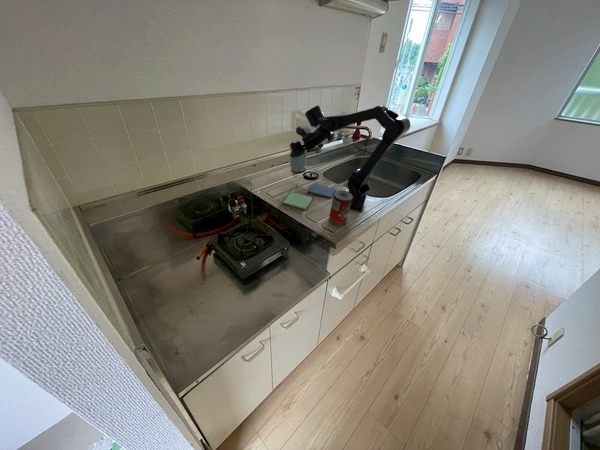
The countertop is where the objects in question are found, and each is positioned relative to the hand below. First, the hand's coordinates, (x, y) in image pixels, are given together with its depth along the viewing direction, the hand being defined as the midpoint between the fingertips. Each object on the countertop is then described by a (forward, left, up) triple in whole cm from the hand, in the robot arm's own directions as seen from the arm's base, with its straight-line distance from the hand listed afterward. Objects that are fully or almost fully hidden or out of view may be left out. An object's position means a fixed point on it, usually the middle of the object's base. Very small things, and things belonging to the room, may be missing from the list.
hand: (296, 154), depth 113 cm
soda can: (-28, +26, -13) cm, 40 cm away
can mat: (-16, +6, -13) cm, 21 cm away
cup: (-1, 0, -7) cm, 7 cm away
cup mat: (-9, +20, -13) cm, 25 cm away
